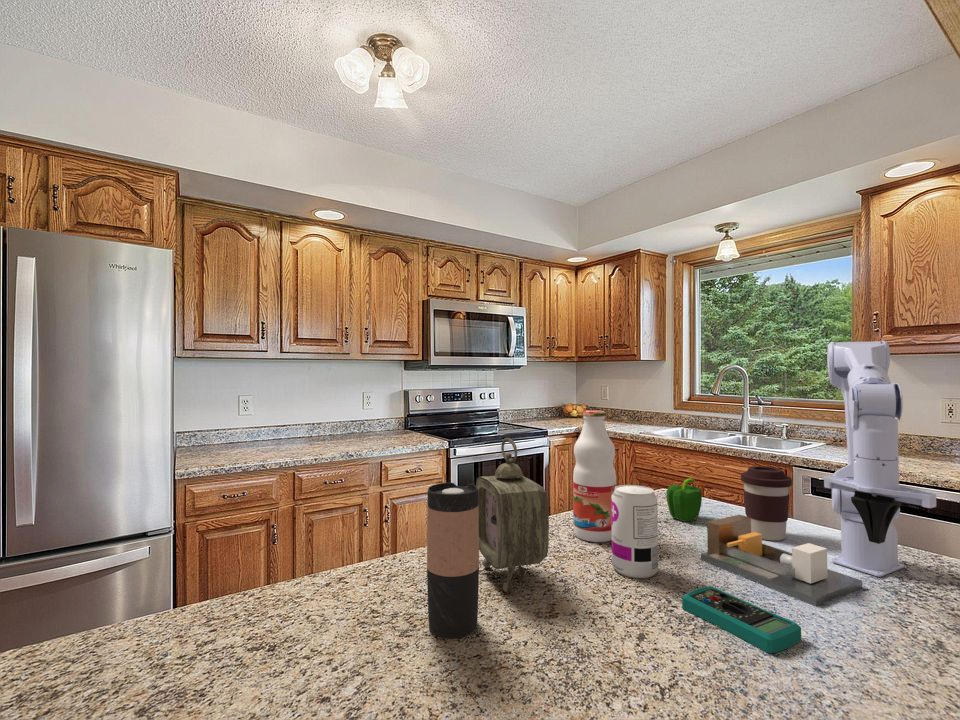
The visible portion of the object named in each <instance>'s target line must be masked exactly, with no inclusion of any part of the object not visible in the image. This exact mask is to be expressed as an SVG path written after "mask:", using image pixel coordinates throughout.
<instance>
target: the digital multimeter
mask: <svg viewBox="0 0 960 720" xmlns="http://www.w3.org/2000/svg"><path fill="white" fill-rule="evenodd" d="M681 609H683V610H684V611H686V612H687V613H690V614H691V615H694V616H696V617H698V618H700V619H702V620H704V621H706V620H707V621H706V622H708V621H709V622H708V623H710V622H711V623H710V624H712V623H713V625H714V624H715V625H714V626H716V625H717V626H716V627H718V626H719V627H718V628H720V629H722V630H724V631H726V632H727V633H729V632H730V634H731V633H732V634H731V635H733V634H734V635H733V636H736V637H737V638H739V639H741V640H743V641H745V642H746V641H747V642H746V643H748V642H749V644H750V645H752V646H754V647H756V648H758V649H759V648H760V650H761V651H763V652H765V653H767V654H769V655H771V654H775V653H779V652H782V651H784V650H786V649H789V648H791V647H793V646H795V645H796V644H798V643H800V642H801V641H802V626H800V625H799V624H798V623H797V622H795V621H792V620H790V619H788V618H785V617H783V616H781V615H778V614H776V613H773V612H771V611H769V610H766V609H764V608H762V607H759V606H758V605H755V604H752V603H750V602H748V601H746V600H743V599H741V598H739V597H737V596H735V595H732V594H730V593H729V592H725V591H723V590H721V589H719V588H716V587H714V586H704V587H703V586H702V587H699V588H697V589H696V588H695V589H693V590H691V591H689V592H688V593H686V594H684V595H683V596H681Z"/></svg>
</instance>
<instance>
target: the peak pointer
mask: <svg viewBox="0 0 960 720" xmlns="http://www.w3.org/2000/svg"><path fill="white" fill-rule="evenodd" d="M762 544H763V539H762V534H759V533H756V532H753V533H749V534H745V535H741V536H738V541H734V542H730V543H727V546H728V547H732V546H735V545H738V549H741V550H744V551H747V552H750V553H753V554H755V555H758V556H761V555H762Z"/></svg>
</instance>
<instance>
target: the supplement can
mask: <svg viewBox="0 0 960 720" xmlns="http://www.w3.org/2000/svg"><path fill="white" fill-rule="evenodd" d="M658 500H659V499H658V496H657V495H656V493H655V490H654V489H653V488H651V487H648V486H644V485H637V484H623V485H616V487H615V490H614V492H613V494H612V496H611V521H612V540H611V566H612V567H613V569H615V571H616V572H617V573H618V574H620V575H622V576H625V577H629V578H633V579H648V578H651V577H653V576H654V575H656V573H657V572H659V532H658V531H659V529H658V528H659V524H658V523H659V517H658V515H659V514H658V513H659V511H658V508H659V507H658V505H659V504H658Z"/></svg>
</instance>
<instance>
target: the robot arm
mask: <svg viewBox="0 0 960 720" xmlns="http://www.w3.org/2000/svg"><path fill="white" fill-rule="evenodd" d="M826 351H827V352H826V353H827V356H826V357H827V358H826V359H827V361H826V362H827V370H828V379H829V382H830V385H831V386H833V387H835V388H837V389H839V390H840V392H841V394H842V398H843V403H844V412H845V413H844V416H845V432H846V433H845V435H846V448H847V465H846V466H843V467H842V468H839V469H838V470H836V471H835V472H834V474H833V475H826V476H823V487H824V489H829V490H830V489H831V505H832V510H833V511H834V512H835V513H836V514H839V515H840V537H841V538H840V539H841V541H840V544H841V545H840V546H841V547H840V550H841V551H840V552H841V555H840V556H837V557H833V558H832V559H830V560H831V563H833V564H837V565H840V566H844V567H847V568H848V569H849V568H850V569H853V570H855V571H859V572H862V573H865V574H869V575H872V576H875V577H878V578H879V577H883V576H887V575H888V574H890V573H893V572H896V571H898V570H901V569H904V568H905V564H903V563H900V562H899V555H898V554H899V552H898V551H899V548H898V546H899V545H898V541H899V539H898V530H897V529H896V527H895V525H894V524H893V522H892V521H894V522H895V521H896V520H897V519H899V518H900V512H901V506H902V504H903V503H905V504H911V505H916V506H921V507H923V508H926V509H933V508H937V493H932V492H926V491H921V490H918V489H914V488H909V487H906V486H903V485H902V486H901V485H900V469H899V468H900V467H899V465H900V464H899V463H900V461H899V421H898V420H901V419H902V413H903V408H904V399H903V398H904V397H903V393H902V388H901V386H900V384H899V383H898V382H891V379H890V377H889V375H888V372H889V368H890V362H891V350H890V345H889V343H888V342H887V341H886V340H879V341H877V340H875V341H845V342H844V341H841V342H838V341H837V342H835V341H830V342H829V343H828V344H827V349H826Z"/></svg>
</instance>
